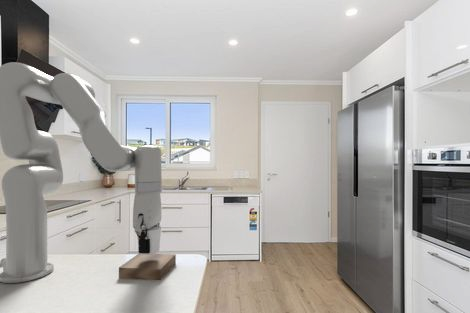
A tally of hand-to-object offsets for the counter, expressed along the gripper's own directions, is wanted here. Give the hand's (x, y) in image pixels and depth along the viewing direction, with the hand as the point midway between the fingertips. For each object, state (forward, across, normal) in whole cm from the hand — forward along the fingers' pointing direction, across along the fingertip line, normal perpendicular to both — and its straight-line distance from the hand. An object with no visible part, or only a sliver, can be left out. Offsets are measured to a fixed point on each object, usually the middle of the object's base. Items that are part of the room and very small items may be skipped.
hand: (149, 248), depth 82 cm
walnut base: (+6, 0, 0) cm, 6 cm away
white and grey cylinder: (+1, 0, 0) cm, 1 cm away
